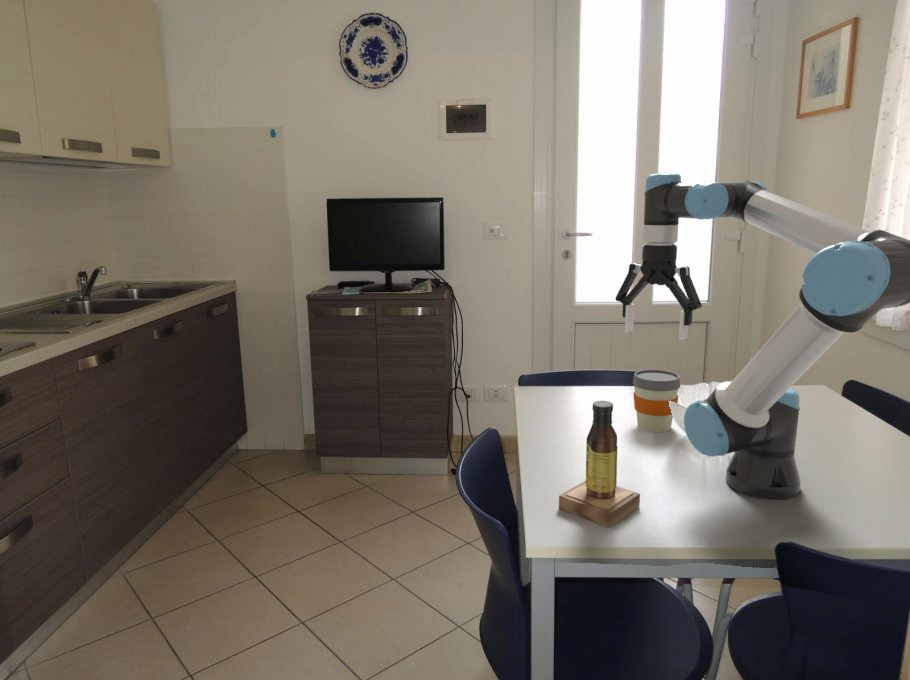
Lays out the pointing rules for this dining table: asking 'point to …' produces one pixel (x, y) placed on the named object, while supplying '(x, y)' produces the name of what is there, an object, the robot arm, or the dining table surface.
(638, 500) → the pedestal
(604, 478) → the sauce bottle
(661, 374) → the reusable coffee cup
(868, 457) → the dining table surface
